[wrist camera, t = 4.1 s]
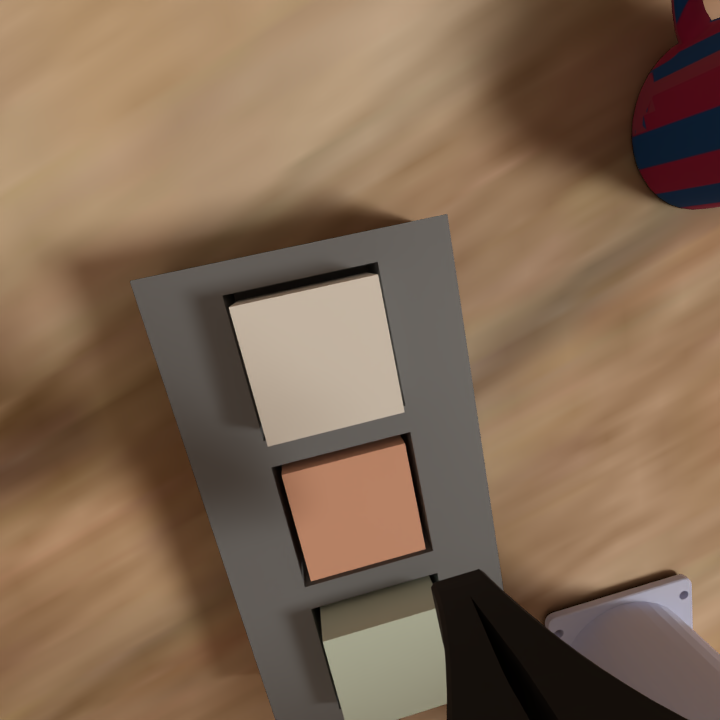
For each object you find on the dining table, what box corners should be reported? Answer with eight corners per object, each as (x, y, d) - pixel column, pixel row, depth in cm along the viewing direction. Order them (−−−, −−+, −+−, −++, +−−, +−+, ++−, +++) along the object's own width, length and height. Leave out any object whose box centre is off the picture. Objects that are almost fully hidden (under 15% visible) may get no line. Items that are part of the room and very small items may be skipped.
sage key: (441, 650, 19) (460, 699, 17) (342, 681, 19) (348, 734, 17) (424, 565, 18) (442, 606, 16) (319, 596, 18) (322, 641, 16)
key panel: (483, 612, 22) (515, 673, 19) (285, 671, 21) (284, 746, 18) (418, 222, 18) (447, 214, 14) (162, 276, 17) (129, 280, 13)
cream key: (390, 392, 16) (404, 412, 14) (271, 421, 16) (267, 446, 14) (366, 272, 15) (378, 274, 13) (238, 300, 15) (228, 307, 13)
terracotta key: (411, 516, 19) (425, 549, 17) (309, 544, 18) (311, 581, 16) (391, 421, 18) (404, 443, 16) (283, 448, 17) (281, 475, 15)
